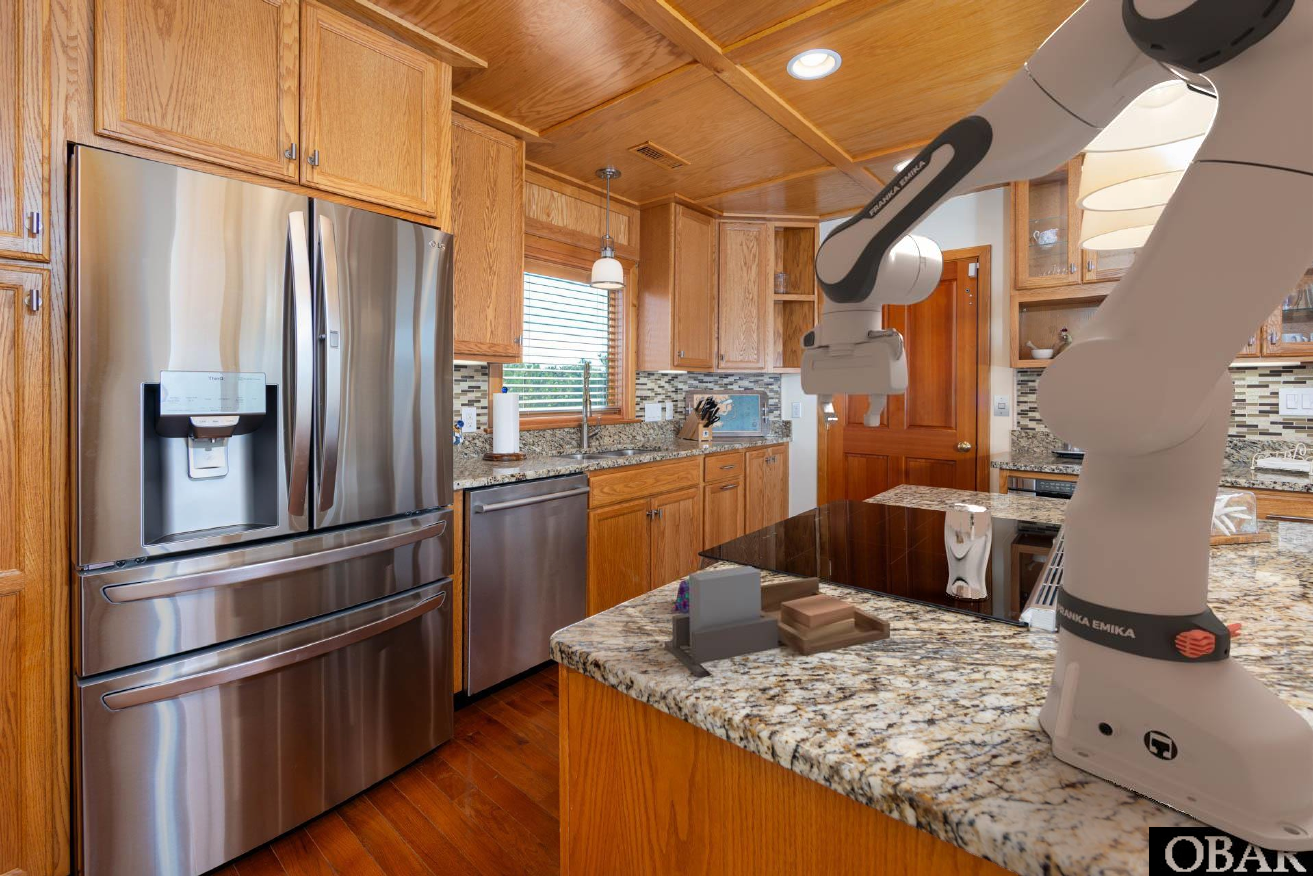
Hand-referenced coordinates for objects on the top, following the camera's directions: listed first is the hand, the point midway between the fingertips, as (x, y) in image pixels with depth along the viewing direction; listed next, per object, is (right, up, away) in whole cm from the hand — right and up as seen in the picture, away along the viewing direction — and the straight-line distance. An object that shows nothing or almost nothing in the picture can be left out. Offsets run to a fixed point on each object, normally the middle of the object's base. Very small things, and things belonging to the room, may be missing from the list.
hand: (849, 424), depth 96 cm
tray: (-8, -30, -7) cm, 31 cm away
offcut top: (-7, -27, -8) cm, 29 cm away
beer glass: (+22, -29, +8) cm, 37 cm away
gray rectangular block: (-21, -30, -14) cm, 38 cm away
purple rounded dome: (-23, -30, +2) cm, 38 cm away
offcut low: (-7, -29, -8) cm, 31 cm away
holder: (-21, -30, -13) cm, 39 cm away
